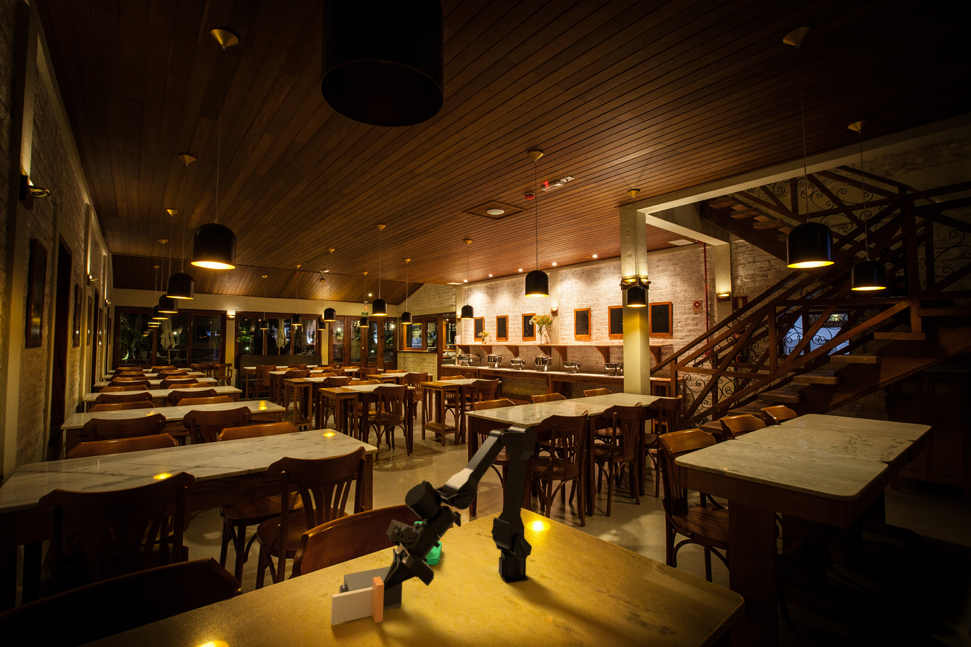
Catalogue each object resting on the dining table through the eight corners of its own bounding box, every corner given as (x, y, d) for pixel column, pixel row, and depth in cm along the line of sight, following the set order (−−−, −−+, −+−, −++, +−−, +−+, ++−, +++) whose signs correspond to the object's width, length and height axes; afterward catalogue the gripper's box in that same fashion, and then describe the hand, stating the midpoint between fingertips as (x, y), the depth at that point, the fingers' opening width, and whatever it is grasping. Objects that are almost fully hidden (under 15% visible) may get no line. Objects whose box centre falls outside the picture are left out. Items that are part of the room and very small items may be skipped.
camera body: (392, 590, 107) (393, 565, 108) (401, 607, 100) (402, 580, 101) (337, 602, 102) (338, 575, 102) (342, 621, 94) (343, 592, 95)
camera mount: (437, 568, 120) (438, 530, 121) (410, 568, 120) (411, 529, 121) (442, 550, 132) (442, 515, 133) (417, 550, 132) (418, 515, 133)
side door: (377, 611, 98) (378, 573, 98) (382, 623, 93) (384, 584, 94) (330, 621, 93) (332, 582, 94) (333, 635, 88) (335, 594, 89)
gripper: (398, 496, 108) (350, 549, 102) (421, 520, 91) (366, 586, 85) (427, 524, 110) (382, 578, 104) (455, 553, 94) (403, 619, 88)
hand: (382, 588), depth 95 cm, fingers closed, pressing on side door
